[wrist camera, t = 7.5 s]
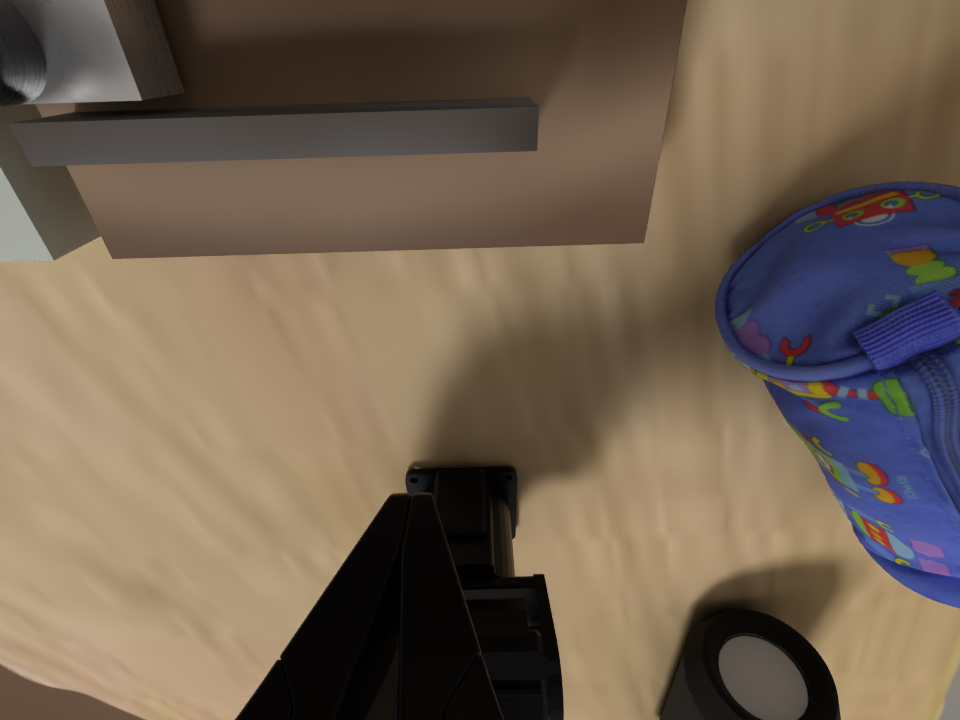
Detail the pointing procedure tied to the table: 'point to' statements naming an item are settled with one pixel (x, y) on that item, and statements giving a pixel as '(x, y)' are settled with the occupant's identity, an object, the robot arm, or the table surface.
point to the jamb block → (37, 201)
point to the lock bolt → (83, 52)
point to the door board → (379, 128)
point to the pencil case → (867, 362)
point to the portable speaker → (750, 673)
